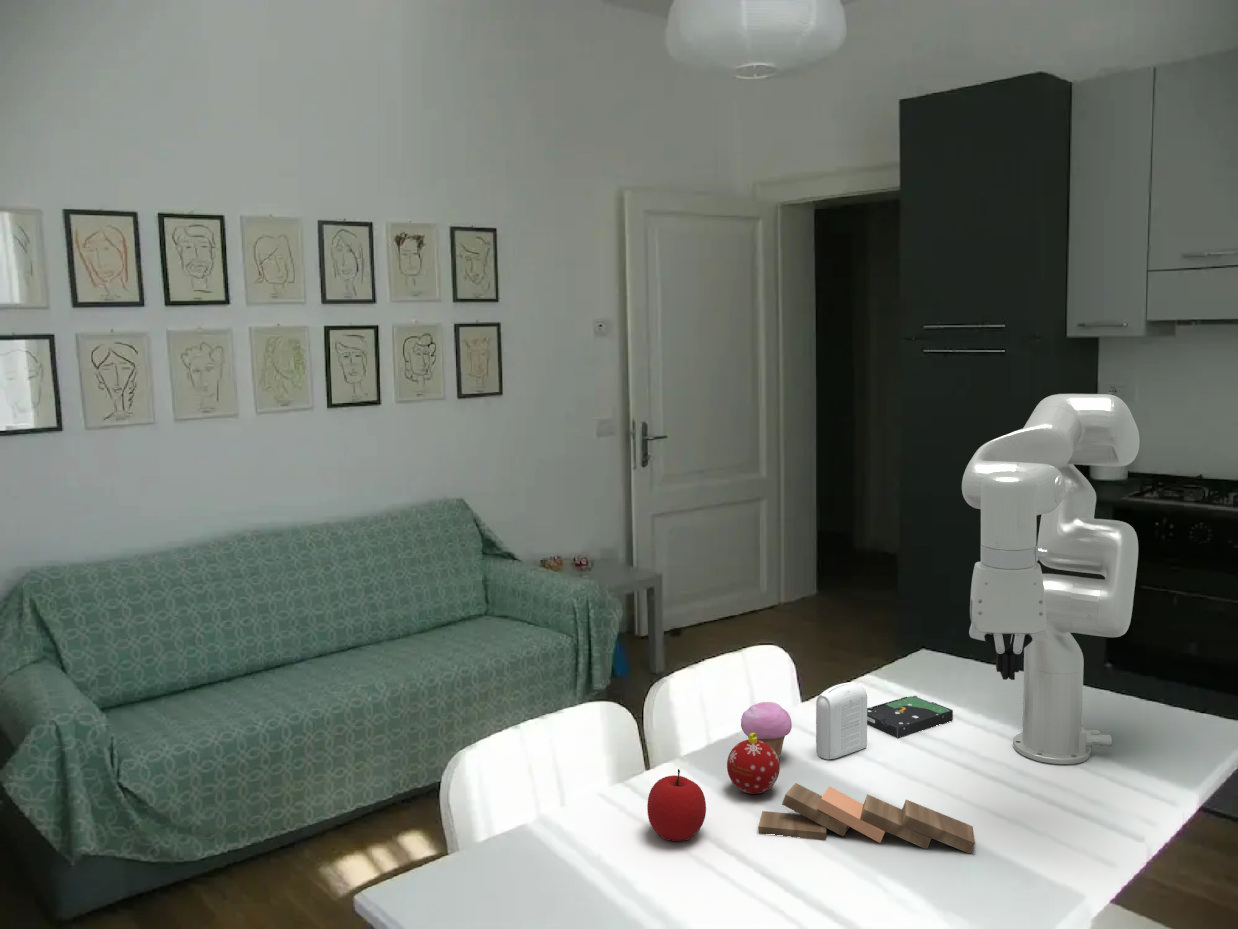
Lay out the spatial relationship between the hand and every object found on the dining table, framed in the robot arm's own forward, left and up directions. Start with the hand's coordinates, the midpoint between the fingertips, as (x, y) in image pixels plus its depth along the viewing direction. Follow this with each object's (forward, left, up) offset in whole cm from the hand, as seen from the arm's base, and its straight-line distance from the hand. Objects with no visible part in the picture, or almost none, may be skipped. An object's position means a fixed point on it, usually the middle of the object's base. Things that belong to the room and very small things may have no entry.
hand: (1007, 676), depth 147 cm
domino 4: (+11, +7, -22) cm, 26 cm away
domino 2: (+23, +6, -22) cm, 32 cm away
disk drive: (+13, -39, -24) cm, 47 cm away
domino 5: (+6, +8, -22) cm, 24 cm away
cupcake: (+37, -18, -23) cm, 47 cm away
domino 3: (+18, +7, -22) cm, 29 cm away
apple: (+48, +11, -23) cm, 55 cm away
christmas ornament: (+38, -5, -23) cm, 45 cm away
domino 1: (+26, +7, -23) cm, 35 cm away
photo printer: (+24, -23, -23) cm, 41 cm away
